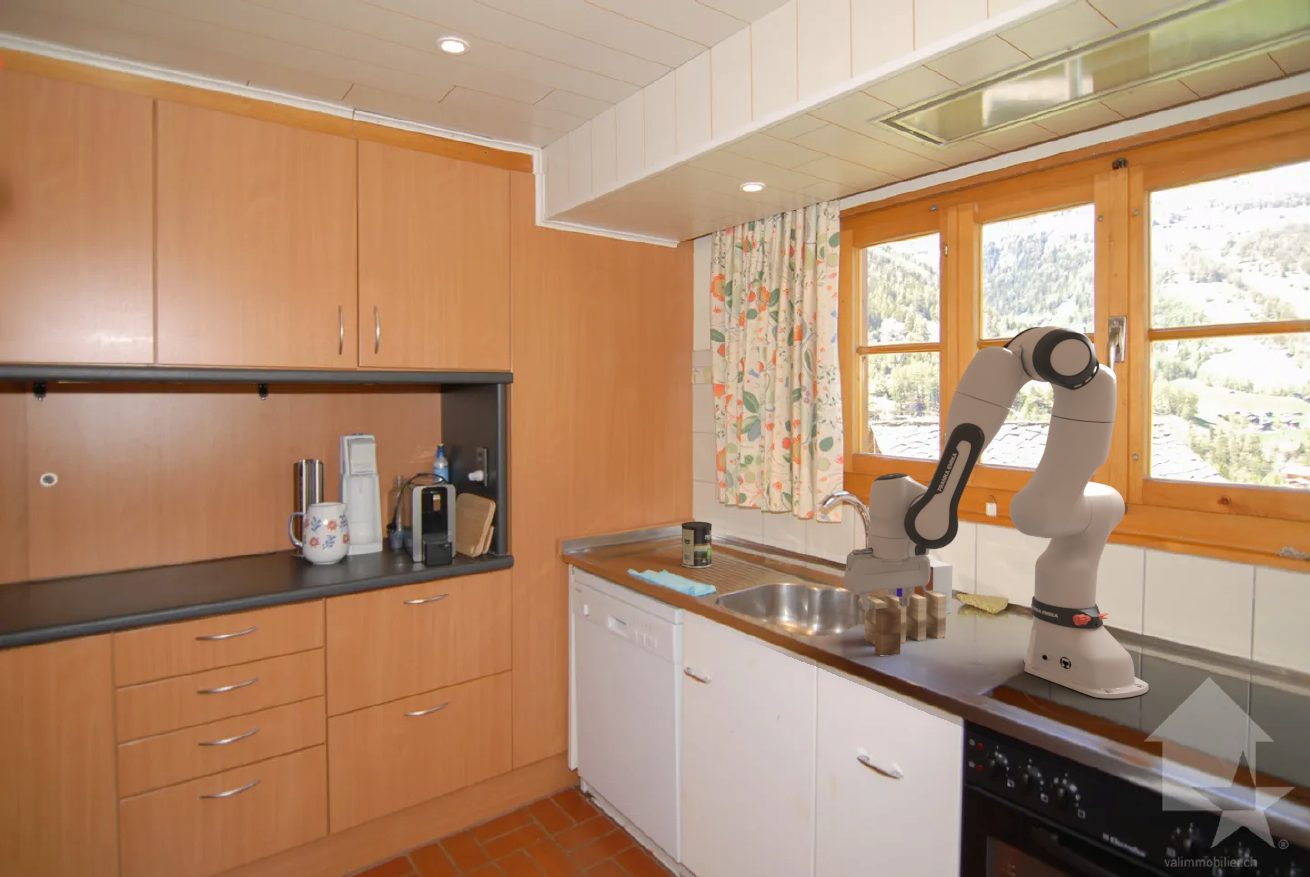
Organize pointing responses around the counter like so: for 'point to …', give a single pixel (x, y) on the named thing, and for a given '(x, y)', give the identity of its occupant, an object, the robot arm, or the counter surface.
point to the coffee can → (696, 545)
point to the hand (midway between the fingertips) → (885, 607)
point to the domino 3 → (888, 631)
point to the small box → (939, 582)
